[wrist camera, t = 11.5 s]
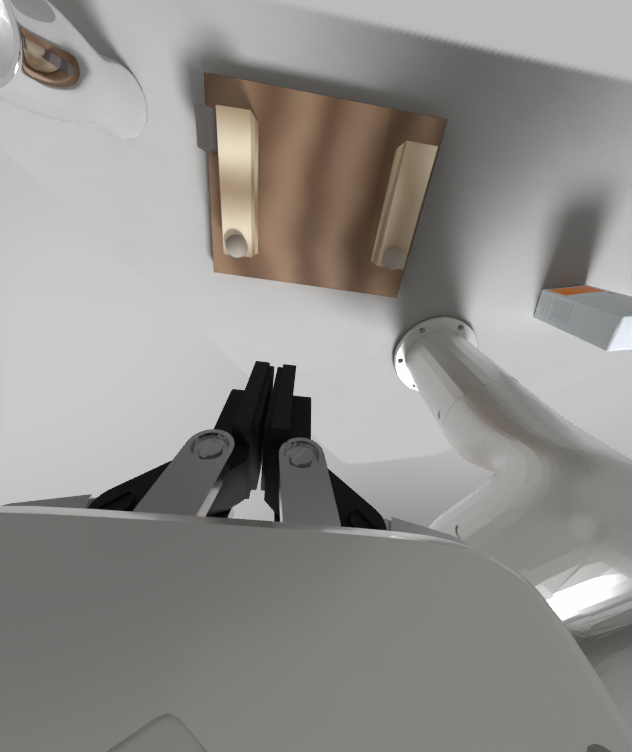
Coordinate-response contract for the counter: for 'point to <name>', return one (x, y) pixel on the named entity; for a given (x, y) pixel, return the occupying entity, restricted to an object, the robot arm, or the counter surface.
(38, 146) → the counter surface
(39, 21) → the beer glass
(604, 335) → the skincare box
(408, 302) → the counter surface
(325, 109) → the stool frame
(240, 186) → the hinged leg
